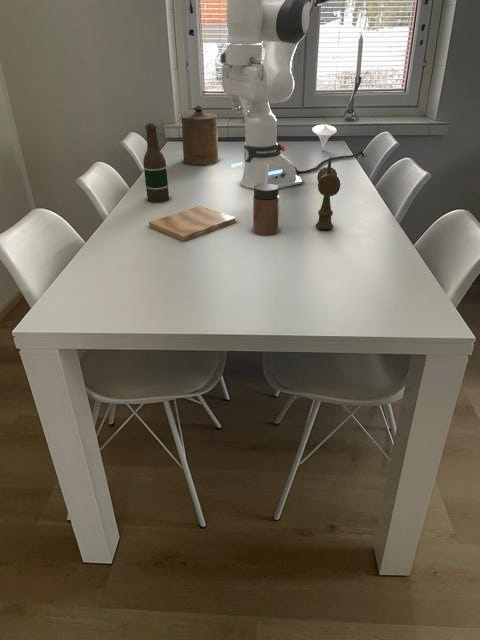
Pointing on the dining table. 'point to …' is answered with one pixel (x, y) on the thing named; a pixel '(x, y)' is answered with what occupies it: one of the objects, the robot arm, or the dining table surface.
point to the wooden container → (200, 138)
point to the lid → (266, 191)
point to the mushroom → (324, 133)
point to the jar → (265, 216)
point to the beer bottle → (155, 168)
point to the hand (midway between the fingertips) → (243, 115)
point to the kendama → (327, 195)
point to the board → (192, 223)
